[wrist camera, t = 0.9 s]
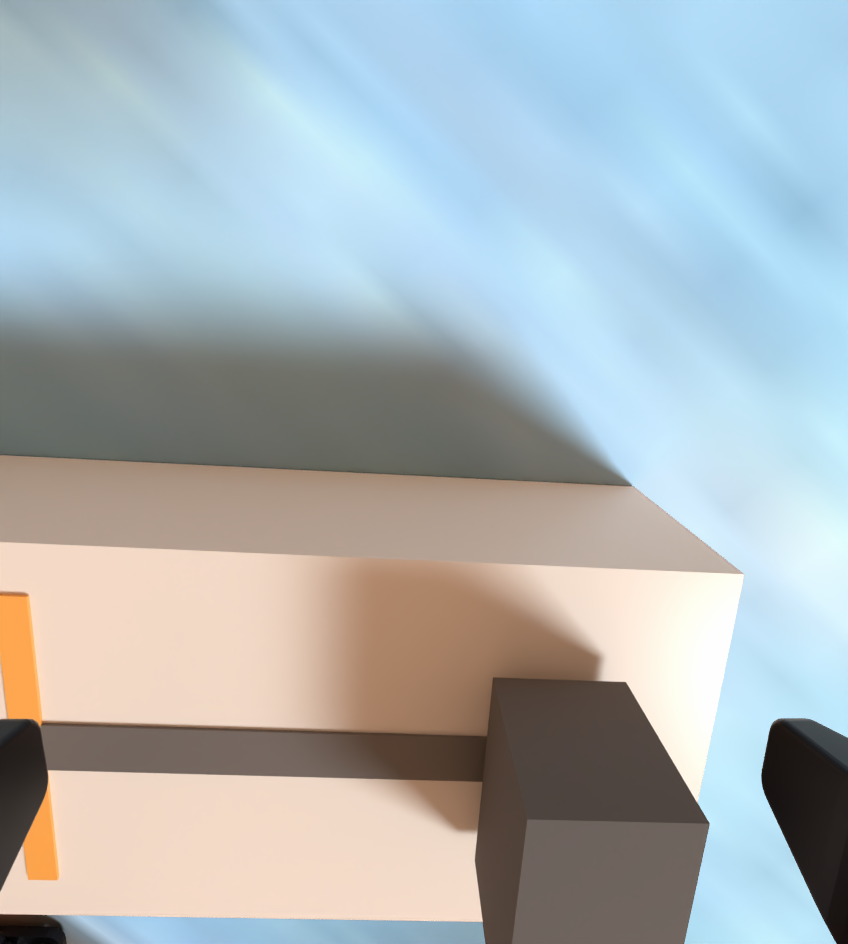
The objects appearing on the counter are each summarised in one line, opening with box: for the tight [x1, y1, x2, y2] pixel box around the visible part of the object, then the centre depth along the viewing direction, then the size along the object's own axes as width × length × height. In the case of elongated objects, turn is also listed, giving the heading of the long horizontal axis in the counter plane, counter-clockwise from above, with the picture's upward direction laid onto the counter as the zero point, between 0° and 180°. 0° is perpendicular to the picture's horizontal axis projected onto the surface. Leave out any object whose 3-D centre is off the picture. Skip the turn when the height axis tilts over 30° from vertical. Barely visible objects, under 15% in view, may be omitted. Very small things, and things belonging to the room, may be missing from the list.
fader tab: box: [475, 677, 709, 944], centre depth 13 cm, size 5×3×4 cm, turn 177°
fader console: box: [0, 455, 744, 922], centre depth 18 cm, size 10×22×7 cm, turn 86°
